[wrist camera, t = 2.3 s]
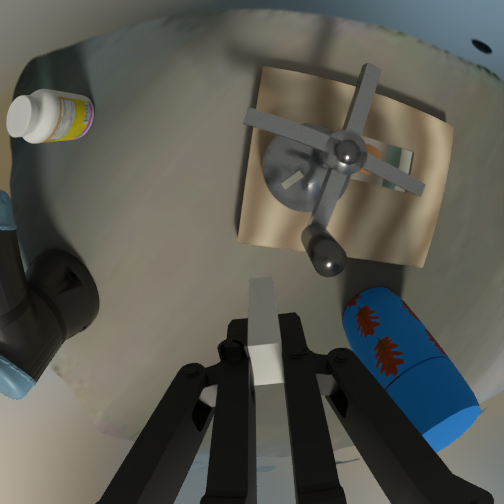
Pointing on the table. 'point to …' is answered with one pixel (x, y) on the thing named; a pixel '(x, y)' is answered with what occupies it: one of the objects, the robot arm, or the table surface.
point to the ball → (372, 151)
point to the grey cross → (323, 168)
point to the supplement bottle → (49, 116)
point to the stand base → (360, 185)
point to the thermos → (410, 366)
